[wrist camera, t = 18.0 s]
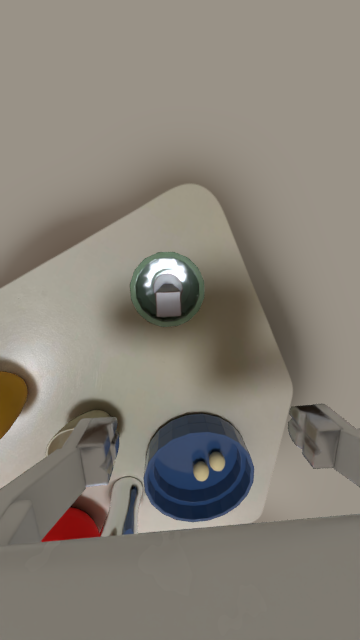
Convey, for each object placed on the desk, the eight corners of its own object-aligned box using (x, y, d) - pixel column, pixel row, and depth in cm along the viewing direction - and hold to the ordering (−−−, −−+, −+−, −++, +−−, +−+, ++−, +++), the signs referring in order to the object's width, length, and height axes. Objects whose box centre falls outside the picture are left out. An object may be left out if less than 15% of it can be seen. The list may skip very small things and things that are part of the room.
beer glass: (151, 493, 40) (141, 620, 25) (120, 506, 40) (93, 639, 25) (135, 469, 38) (115, 588, 23) (103, 483, 38) (64, 609, 24)
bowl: (244, 408, 37) (256, 428, 32) (241, 487, 41) (251, 516, 36) (143, 415, 36) (139, 437, 31) (150, 496, 40) (148, 526, 35)
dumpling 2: (230, 461, 36) (223, 469, 34) (220, 469, 37) (213, 477, 35) (220, 445, 38) (212, 452, 35) (211, 453, 39) (203, 460, 36)
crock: (192, 259, 30) (204, 250, 21) (193, 310, 32) (204, 325, 22) (140, 261, 30) (126, 253, 20) (144, 313, 32) (133, 328, 22)
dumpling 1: (199, 483, 34) (187, 470, 36) (204, 487, 36) (193, 474, 38) (209, 467, 35) (197, 455, 37) (213, 471, 37) (202, 459, 39)
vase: (131, 525, 41) (100, 731, 22) (68, 569, 43) (-10, 796, 24) (68, 474, 37) (-32, 670, 19) (1, 524, 39) (-153, 751, 20)
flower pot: (59, 410, 34) (31, 444, 27) (110, 389, 34) (95, 417, 27) (86, 452, 37) (67, 493, 30) (134, 432, 36) (126, 469, 29)
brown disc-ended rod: (181, 273, 30) (207, 261, 10) (182, 300, 31) (208, 340, 11) (153, 273, 30) (124, 264, 10) (154, 302, 31) (131, 344, 11)
